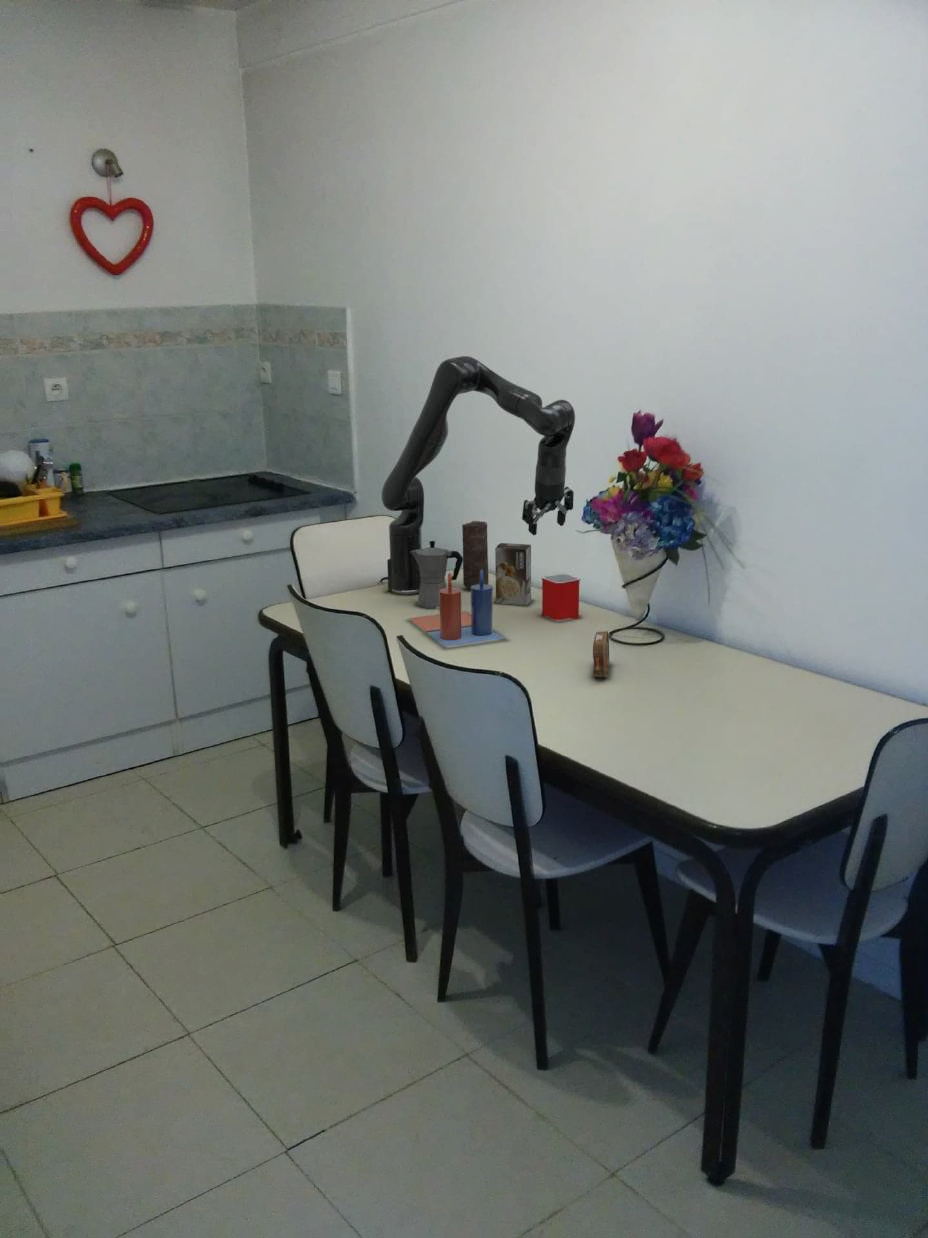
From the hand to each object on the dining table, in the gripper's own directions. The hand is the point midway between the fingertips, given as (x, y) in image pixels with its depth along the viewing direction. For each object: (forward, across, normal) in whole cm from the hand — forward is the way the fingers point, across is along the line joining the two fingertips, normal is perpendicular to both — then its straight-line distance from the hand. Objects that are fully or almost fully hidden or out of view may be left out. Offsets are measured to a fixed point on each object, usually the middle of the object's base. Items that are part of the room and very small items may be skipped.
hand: (546, 528), depth 279 cm
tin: (+4, +17, +48) cm, 51 cm away
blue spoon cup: (+15, +27, +13) cm, 33 cm away
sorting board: (+17, +31, +6) cm, 36 cm away
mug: (+22, +2, +10) cm, 24 cm away
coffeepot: (+27, +24, -15) cm, 39 cm away
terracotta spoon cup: (+14, +35, +11) cm, 40 cm away
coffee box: (+27, +5, -6) cm, 28 cm away
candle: (+33, +8, -23) cm, 41 cm away
